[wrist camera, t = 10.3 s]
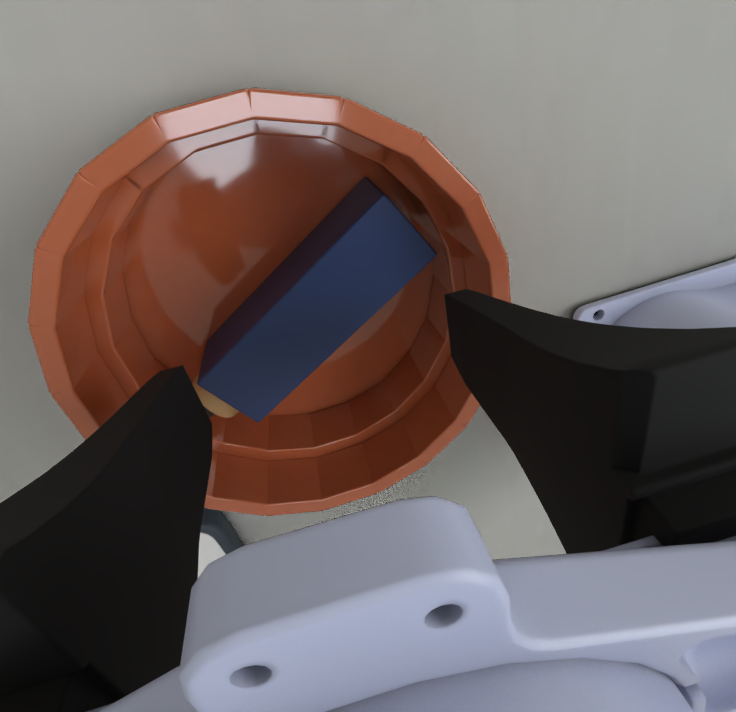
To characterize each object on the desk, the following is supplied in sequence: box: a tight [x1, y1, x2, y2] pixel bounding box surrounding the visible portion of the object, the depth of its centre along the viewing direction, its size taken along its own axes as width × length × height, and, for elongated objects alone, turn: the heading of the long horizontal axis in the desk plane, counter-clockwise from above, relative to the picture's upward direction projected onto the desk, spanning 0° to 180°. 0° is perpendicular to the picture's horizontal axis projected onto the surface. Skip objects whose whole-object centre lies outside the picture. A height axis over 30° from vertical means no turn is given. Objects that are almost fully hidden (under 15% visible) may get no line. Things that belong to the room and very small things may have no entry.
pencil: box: [192, 177, 437, 422], centre depth 16 cm, size 10×3×3 cm, turn 133°
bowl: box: [28, 87, 511, 516], centre depth 15 cm, size 13×13×5 cm
